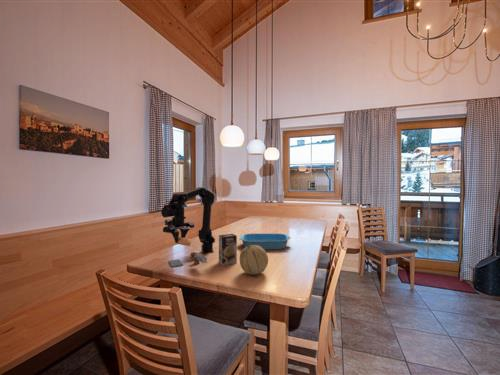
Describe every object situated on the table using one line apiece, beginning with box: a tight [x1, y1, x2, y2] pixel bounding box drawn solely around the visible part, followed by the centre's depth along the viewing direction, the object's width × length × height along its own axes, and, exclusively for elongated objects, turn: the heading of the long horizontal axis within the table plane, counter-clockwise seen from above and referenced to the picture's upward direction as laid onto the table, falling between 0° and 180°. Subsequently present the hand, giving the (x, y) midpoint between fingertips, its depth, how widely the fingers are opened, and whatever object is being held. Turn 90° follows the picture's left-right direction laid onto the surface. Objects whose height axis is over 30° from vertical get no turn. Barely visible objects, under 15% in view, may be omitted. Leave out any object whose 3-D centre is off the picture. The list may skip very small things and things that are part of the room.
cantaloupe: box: [239, 245, 269, 276], centre depth 120 cm, size 15×15×15 cm
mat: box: [168, 258, 184, 268], centre depth 134 cm, size 6×10×1 cm, turn 30°
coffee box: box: [218, 233, 238, 266], centre depth 136 cm, size 9×6×16 cm
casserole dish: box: [239, 232, 291, 250], centre depth 170 cm, size 37×22×7 cm, turn 87°
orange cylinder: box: [174, 236, 192, 247], centre depth 134 cm, size 9×4×4 cm, turn 59°
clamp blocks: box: [190, 251, 200, 265], centre depth 138 cm, size 2×9×4 cm, turn 30°
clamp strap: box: [196, 252, 208, 264], centre depth 127 cm, size 2×10×2 cm, turn 30°
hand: (179, 241), depth 136 cm, fingers closed on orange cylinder, 4 cm apart
